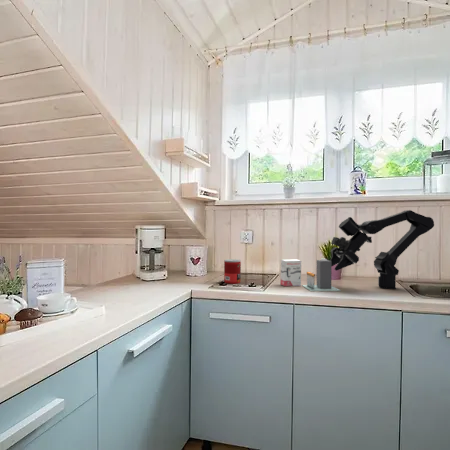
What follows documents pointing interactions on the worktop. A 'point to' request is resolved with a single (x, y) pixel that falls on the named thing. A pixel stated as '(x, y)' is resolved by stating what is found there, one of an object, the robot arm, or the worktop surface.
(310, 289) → the mat
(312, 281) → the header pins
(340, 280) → the worktop surface
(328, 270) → the gray rectangular block
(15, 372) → the worktop surface
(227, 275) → the canned food
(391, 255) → the robot arm
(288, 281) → the ink box
